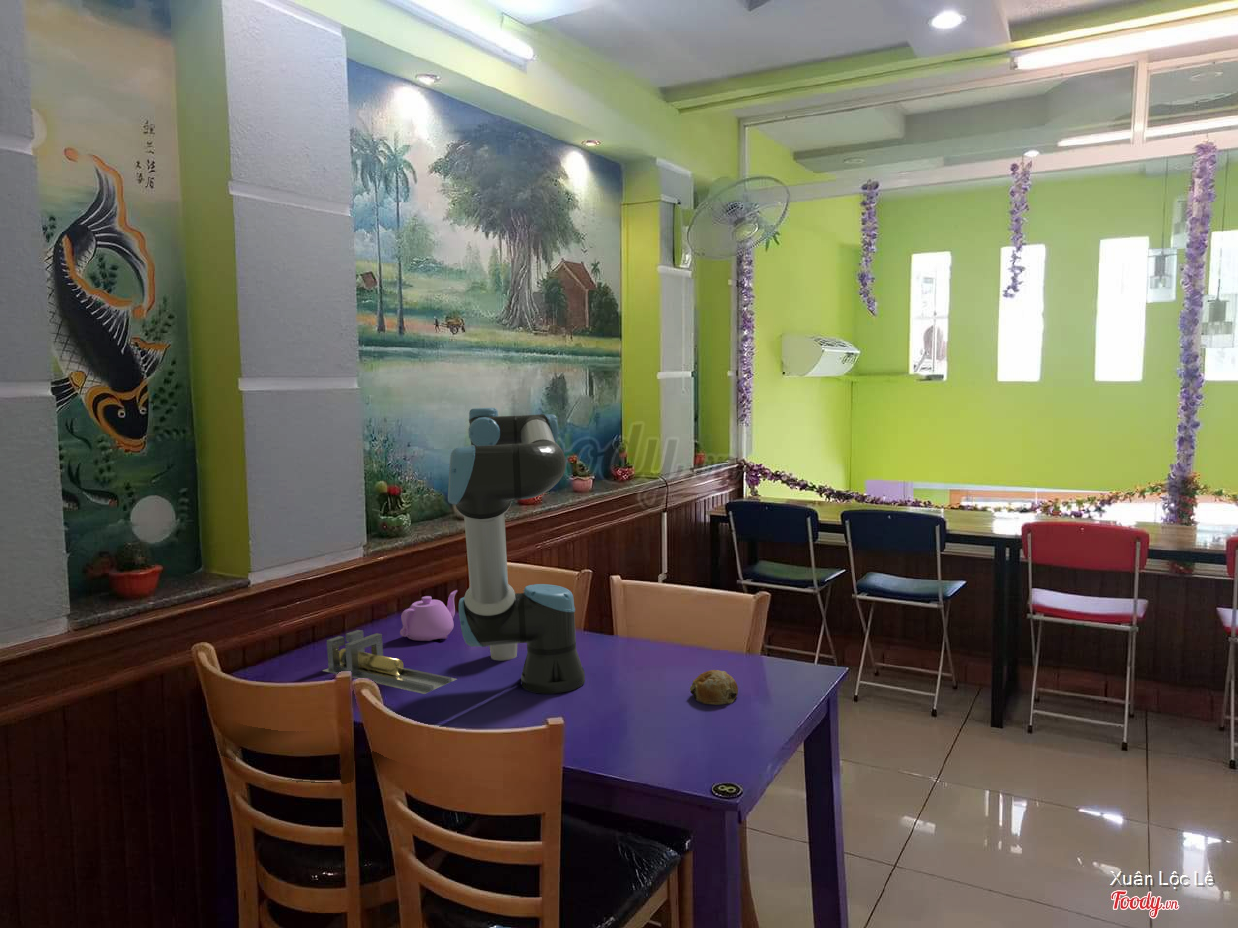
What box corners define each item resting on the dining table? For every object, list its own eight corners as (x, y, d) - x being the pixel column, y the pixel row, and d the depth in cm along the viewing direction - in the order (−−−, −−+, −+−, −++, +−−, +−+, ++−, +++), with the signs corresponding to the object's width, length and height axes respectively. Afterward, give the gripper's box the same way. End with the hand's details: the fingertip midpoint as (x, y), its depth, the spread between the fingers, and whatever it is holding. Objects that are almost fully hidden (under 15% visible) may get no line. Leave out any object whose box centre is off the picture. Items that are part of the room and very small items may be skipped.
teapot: (445, 625, 258) (442, 585, 257) (475, 633, 249) (472, 592, 247) (387, 642, 243) (384, 600, 242) (416, 651, 234) (413, 607, 233)
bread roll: (718, 723, 186) (731, 694, 184) (679, 697, 191) (692, 667, 188) (736, 708, 195) (750, 679, 192) (699, 683, 199) (712, 654, 197)
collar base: (457, 682, 208) (455, 646, 207) (424, 698, 198) (422, 660, 198) (356, 661, 227) (354, 628, 226) (322, 674, 218) (319, 639, 217)
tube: (401, 676, 213) (405, 659, 214) (389, 675, 210) (393, 658, 210) (347, 664, 224) (350, 648, 224) (335, 663, 220) (338, 647, 221)
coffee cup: (515, 666, 218) (512, 608, 217) (480, 665, 220) (477, 608, 218) (527, 654, 227) (524, 598, 226) (493, 653, 229) (490, 598, 228)
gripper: (514, 465, 225) (519, 554, 227) (477, 464, 232) (482, 550, 234) (496, 468, 219) (500, 560, 221) (458, 467, 226) (463, 556, 228)
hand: (491, 555), depth 228 cm, fingers closed
